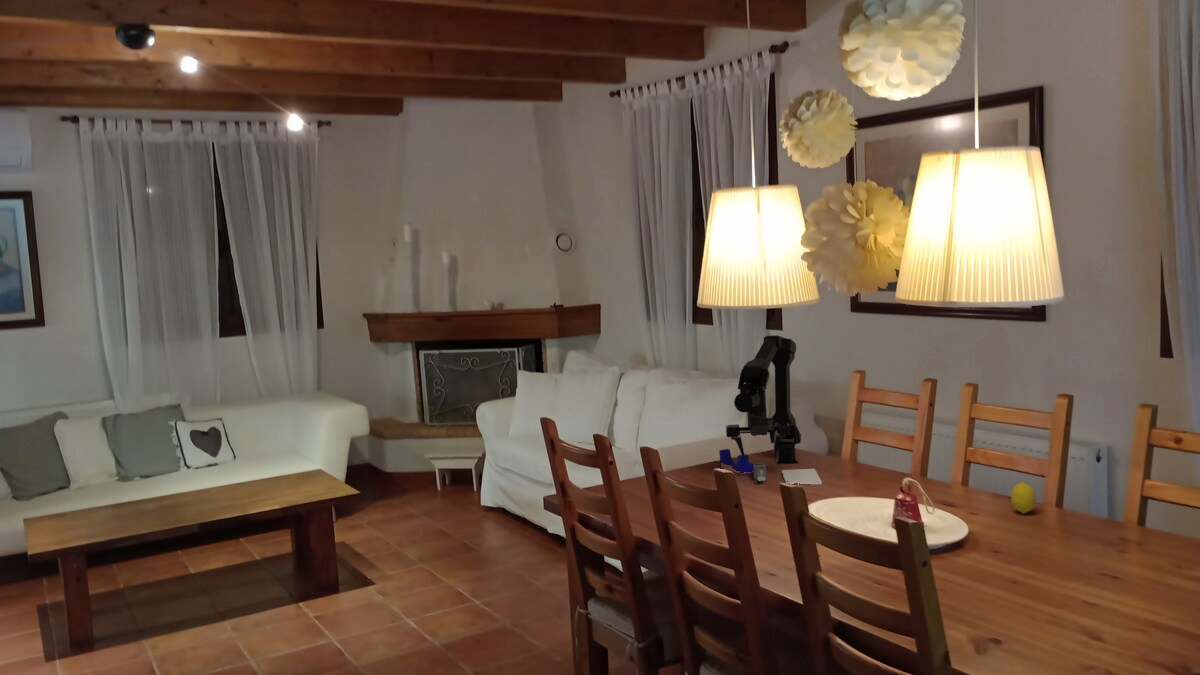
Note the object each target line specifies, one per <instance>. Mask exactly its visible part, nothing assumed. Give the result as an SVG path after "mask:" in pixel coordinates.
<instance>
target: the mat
mask: <svg viewBox="0 0 1200 675" xmlns="http://www.w3.org/2000/svg"><path fill="white" fill-rule="evenodd" d="M782 474H783V475H782ZM781 475H782V476H783V480H784V482H785V484H786V483H790V484H794V483H798V485H797V486H800V485H799V483H800V484H811V485H822V484H823V483H822V480H821V478H820V476H819V474H818V472H817V470H816V469H815V468H801V469H800V468H798V469H797V468H796V469H781ZM787 481H788V482H787Z"/></svg>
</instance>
